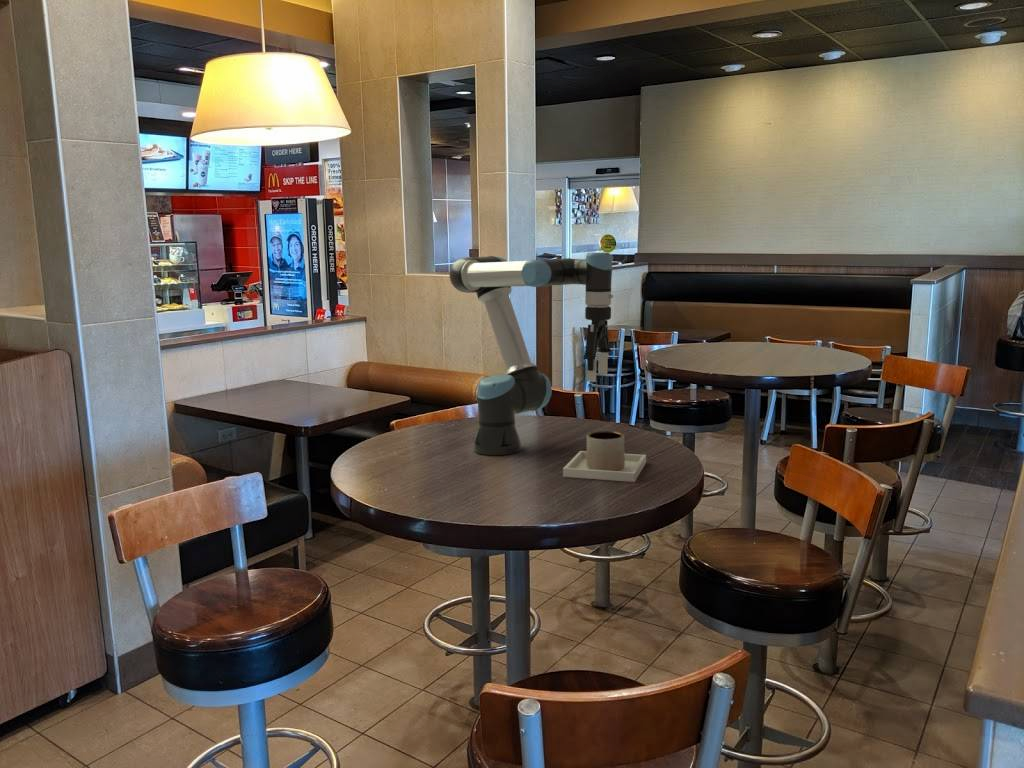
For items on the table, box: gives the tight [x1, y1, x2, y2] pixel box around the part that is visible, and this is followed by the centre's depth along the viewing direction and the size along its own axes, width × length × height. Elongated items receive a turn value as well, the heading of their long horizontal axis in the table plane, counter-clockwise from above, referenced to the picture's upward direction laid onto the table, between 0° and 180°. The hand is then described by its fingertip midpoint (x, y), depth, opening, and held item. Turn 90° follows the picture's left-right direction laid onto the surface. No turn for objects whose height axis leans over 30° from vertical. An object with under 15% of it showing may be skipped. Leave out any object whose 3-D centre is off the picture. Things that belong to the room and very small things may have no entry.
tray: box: [562, 450, 647, 483], centre depth 225 cm, size 20×20×2 cm
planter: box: [586, 430, 625, 471], centre depth 224 cm, size 11×11×10 cm
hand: (597, 377), depth 233 cm, fingers open, 13 cm apart
